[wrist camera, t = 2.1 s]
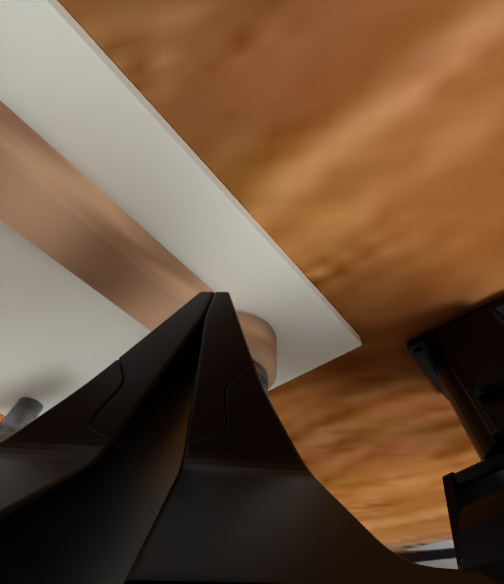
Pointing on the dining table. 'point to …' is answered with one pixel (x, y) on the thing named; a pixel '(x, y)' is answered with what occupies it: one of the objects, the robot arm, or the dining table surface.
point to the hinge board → (140, 207)
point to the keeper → (31, 408)
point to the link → (100, 237)
